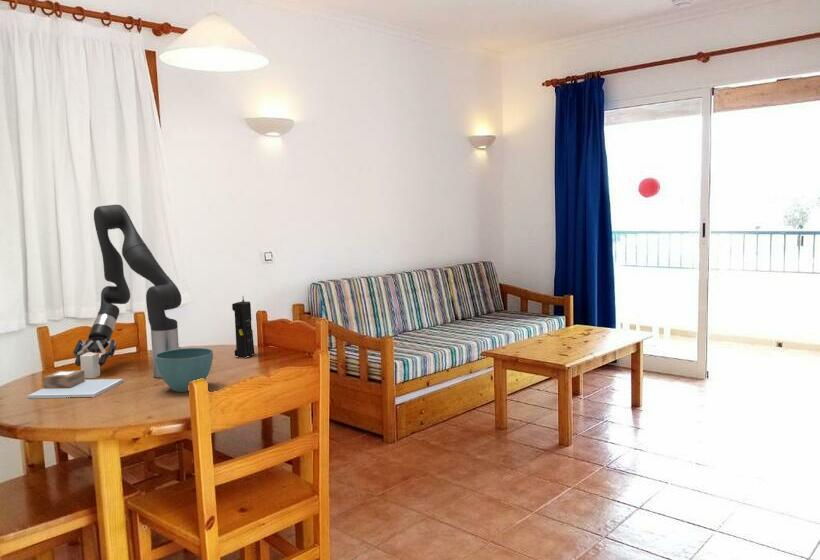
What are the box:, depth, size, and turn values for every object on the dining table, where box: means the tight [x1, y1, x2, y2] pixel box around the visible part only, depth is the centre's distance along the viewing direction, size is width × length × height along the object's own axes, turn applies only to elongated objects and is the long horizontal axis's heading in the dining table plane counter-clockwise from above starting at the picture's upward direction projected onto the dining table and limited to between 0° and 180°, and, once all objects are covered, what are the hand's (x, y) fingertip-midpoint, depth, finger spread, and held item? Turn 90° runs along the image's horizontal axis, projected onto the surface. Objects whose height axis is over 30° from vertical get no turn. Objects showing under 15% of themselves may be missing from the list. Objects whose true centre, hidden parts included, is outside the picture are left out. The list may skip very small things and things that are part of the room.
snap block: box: [80, 352, 101, 379], centre depth 234 cm, size 4×4×9 cm
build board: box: [26, 369, 124, 399], centre depth 216 cm, size 22×20×5 cm
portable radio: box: [231, 296, 255, 357], centre depth 263 cm, size 8×6×25 cm
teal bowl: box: [155, 347, 214, 393], centre depth 214 cm, size 18×18×12 cm
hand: (88, 365), depth 234 cm, fingers open, 8 cm apart
